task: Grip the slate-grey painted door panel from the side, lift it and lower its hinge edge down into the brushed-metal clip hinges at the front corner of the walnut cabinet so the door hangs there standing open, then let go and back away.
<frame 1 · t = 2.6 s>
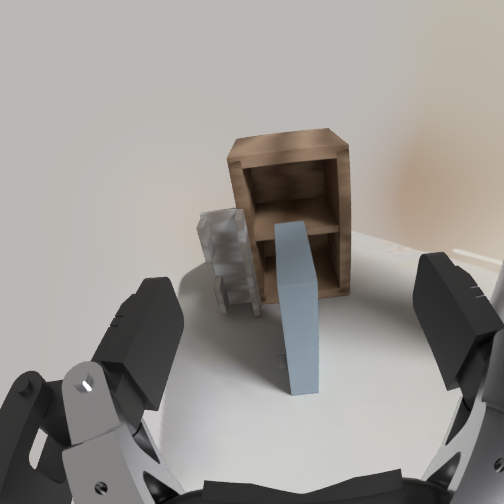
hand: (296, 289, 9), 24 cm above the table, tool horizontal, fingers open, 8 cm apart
door: (302, 360, 35), on the table
cabinet: (299, 275, 49), on the table
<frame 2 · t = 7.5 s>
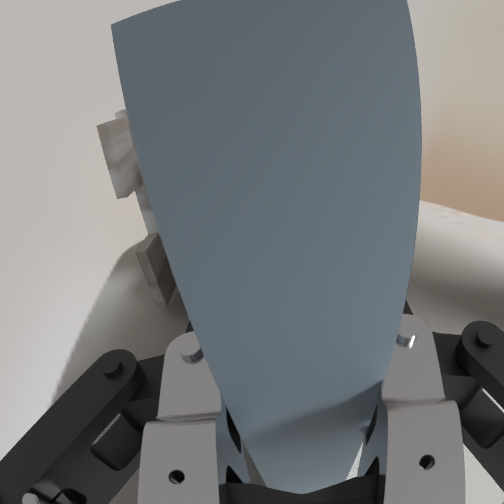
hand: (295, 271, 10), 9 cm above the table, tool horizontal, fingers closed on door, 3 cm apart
door: (304, 411, 14), on the table, touching gripper
cabinet: (304, 247, 29), on the table
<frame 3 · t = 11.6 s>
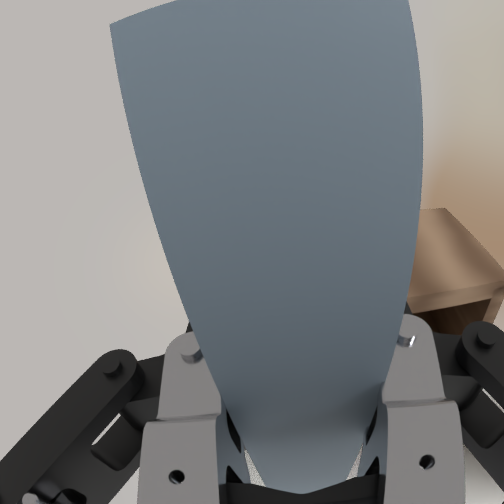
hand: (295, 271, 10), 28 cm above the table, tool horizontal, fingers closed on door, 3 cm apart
door: (304, 412, 14), point 19 cm above the table, touching gripper
cabinet: (374, 395, 33), on the table
when the fingers open (10 cm above the table, at t = 15.9 s): door stays where it is, on the table.
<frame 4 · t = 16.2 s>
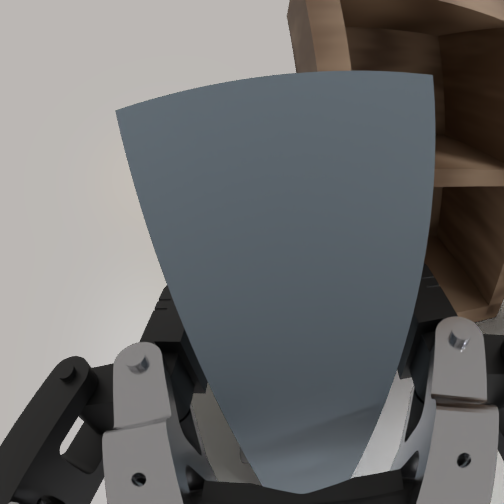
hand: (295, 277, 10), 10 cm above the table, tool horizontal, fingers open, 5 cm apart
door: (305, 424, 15), on the table
cabinet: (401, 282, 23), on the table
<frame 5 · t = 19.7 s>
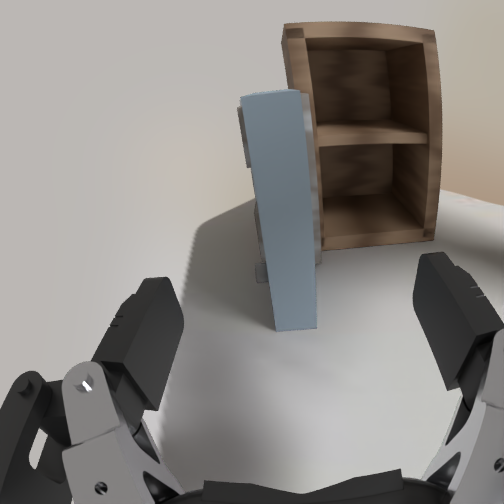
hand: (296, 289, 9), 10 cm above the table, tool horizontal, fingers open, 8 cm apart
door: (294, 288, 26), on the table
cabinet: (362, 220, 35), on the table
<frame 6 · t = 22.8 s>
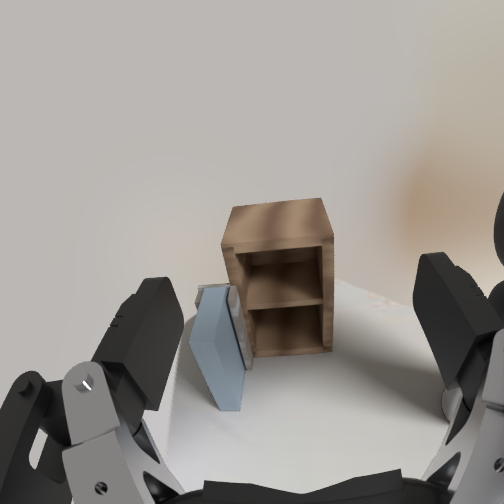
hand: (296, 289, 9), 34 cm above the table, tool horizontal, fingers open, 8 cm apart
door: (233, 384, 45), on the table
cabinet: (289, 329, 53), on the table
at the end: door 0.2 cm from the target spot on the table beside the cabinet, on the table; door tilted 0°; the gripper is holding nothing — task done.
